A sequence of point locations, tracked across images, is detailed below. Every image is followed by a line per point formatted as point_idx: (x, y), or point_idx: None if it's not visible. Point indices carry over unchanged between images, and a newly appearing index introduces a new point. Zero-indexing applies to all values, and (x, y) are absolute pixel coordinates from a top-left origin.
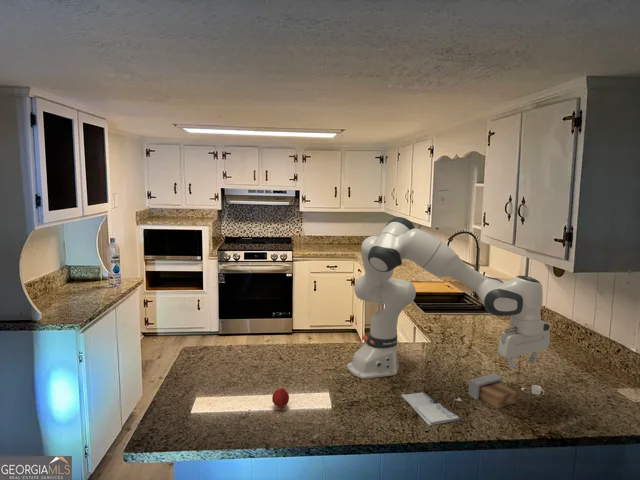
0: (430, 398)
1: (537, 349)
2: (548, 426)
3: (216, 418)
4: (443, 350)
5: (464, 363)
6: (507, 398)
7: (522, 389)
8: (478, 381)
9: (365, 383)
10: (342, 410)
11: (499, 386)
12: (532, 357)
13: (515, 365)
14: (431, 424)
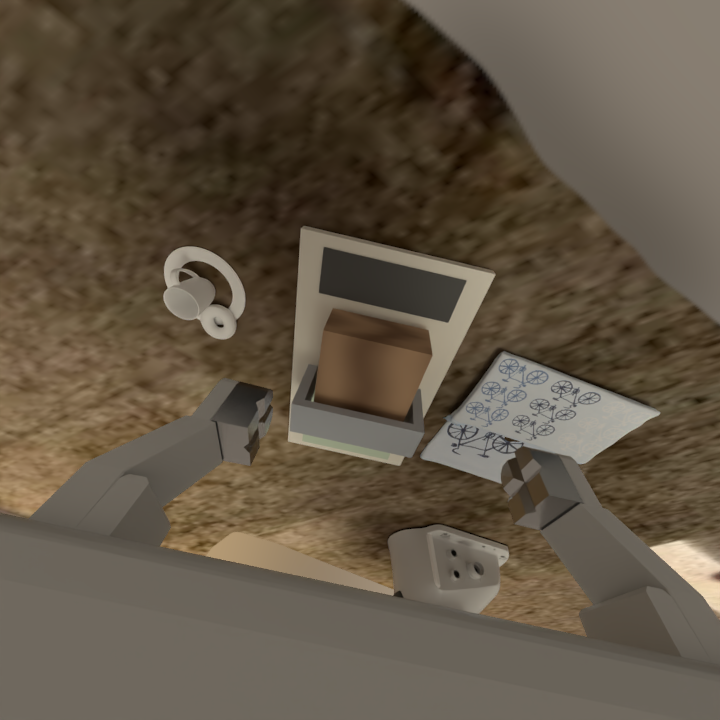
0: (495, 457)
1: (89, 610)
2: (369, 129)
3: None
4: (246, 510)
5: (250, 472)
6: (377, 333)
7: (227, 333)
8: (396, 439)
9: (522, 539)
10: (682, 528)
11: (339, 385)
12: (216, 448)
13: (555, 480)
14: (650, 407)
